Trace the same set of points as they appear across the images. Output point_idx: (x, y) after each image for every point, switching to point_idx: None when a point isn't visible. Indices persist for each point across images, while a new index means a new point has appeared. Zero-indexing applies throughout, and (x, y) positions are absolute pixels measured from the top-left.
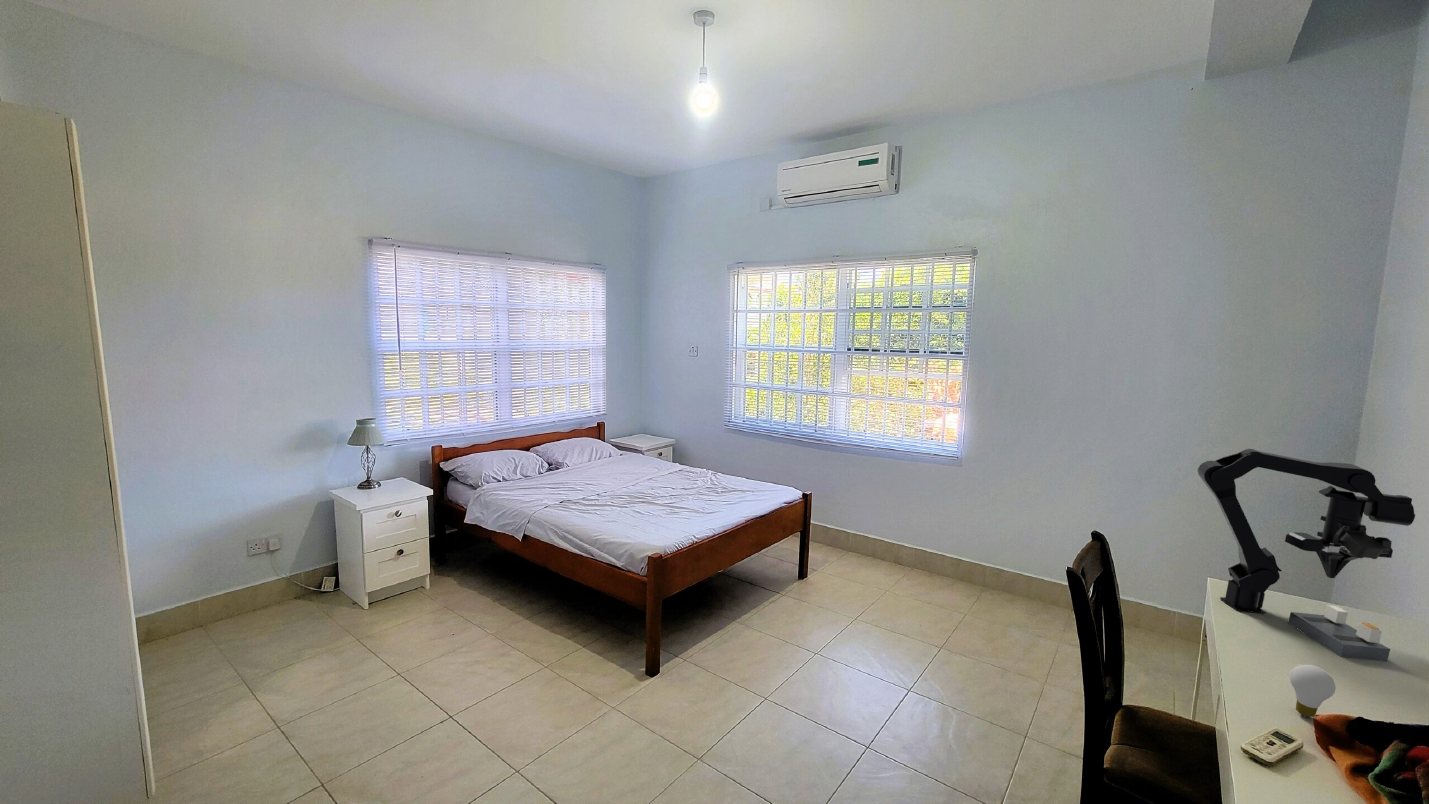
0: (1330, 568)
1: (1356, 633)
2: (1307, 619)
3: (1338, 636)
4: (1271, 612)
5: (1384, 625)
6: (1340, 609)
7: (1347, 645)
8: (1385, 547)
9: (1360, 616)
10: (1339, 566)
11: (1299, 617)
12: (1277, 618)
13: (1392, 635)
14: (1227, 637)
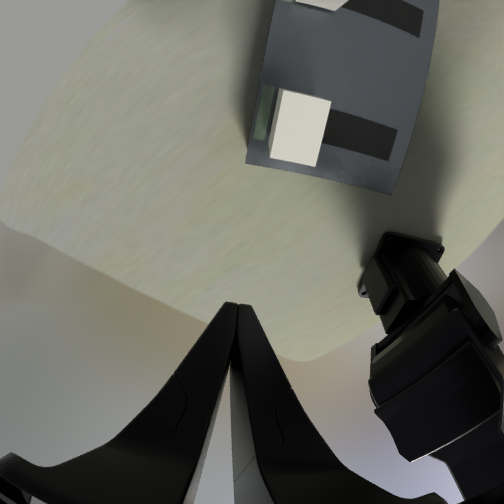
0: (280, 370)
1: (336, 8)
2: (395, 139)
3: (409, 24)
4: (351, 239)
5: (55, 183)
6: (293, 118)
7: None
8: None
9: (78, 227)
10: (213, 386)
11: (404, 157)
12: (375, 206)
13: (78, 123)
14: None
